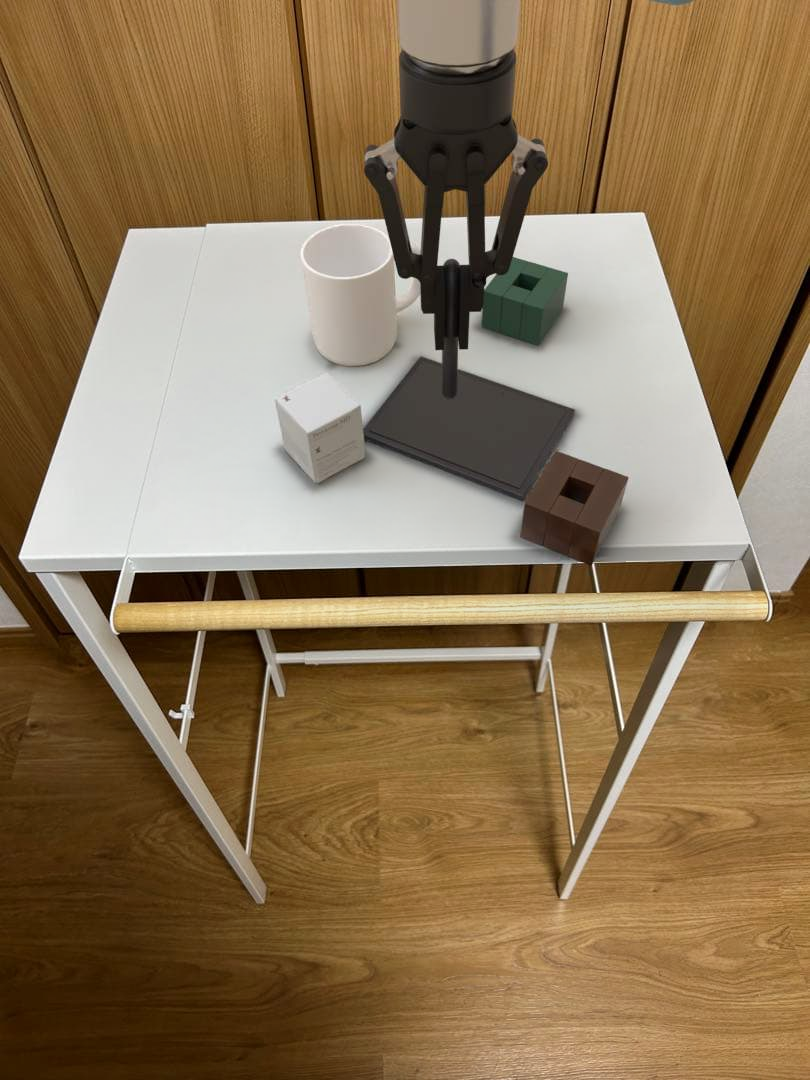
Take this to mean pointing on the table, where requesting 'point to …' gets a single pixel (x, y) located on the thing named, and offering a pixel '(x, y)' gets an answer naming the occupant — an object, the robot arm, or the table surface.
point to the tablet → (470, 428)
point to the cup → (353, 293)
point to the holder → (573, 507)
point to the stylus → (450, 329)
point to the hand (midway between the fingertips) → (450, 338)
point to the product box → (321, 427)
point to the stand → (524, 301)
